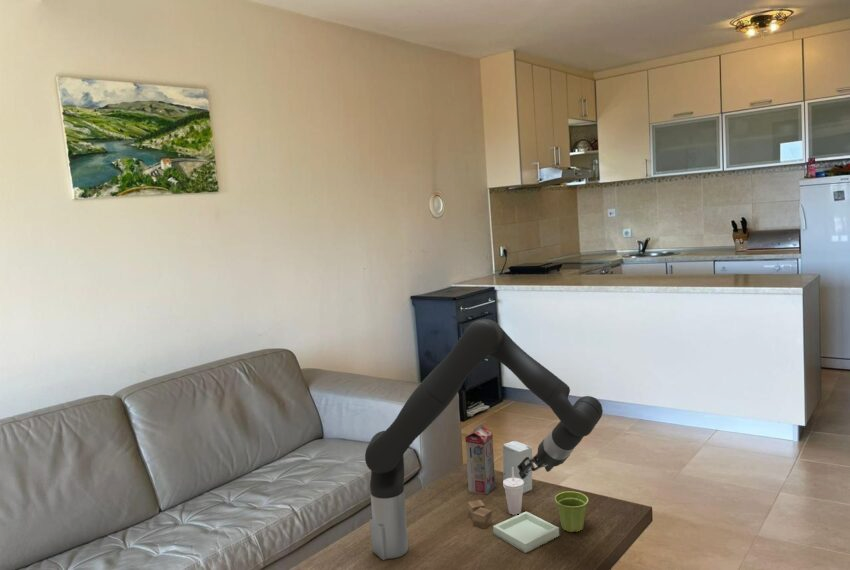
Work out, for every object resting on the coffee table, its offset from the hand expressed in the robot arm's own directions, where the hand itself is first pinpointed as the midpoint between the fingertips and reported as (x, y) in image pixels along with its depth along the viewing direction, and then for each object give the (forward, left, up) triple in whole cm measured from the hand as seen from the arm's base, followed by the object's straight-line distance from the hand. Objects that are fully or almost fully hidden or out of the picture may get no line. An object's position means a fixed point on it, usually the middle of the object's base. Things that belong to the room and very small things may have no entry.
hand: (533, 472), depth 180 cm
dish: (-5, -1, -17) cm, 18 cm away
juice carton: (+5, +30, -17) cm, 35 cm away
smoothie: (+2, +11, -17) cm, 21 cm away
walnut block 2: (-10, +12, -17) cm, 23 cm away
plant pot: (+8, -7, -17) cm, 20 cm away
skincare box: (+14, +22, -17) cm, 31 cm away
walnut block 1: (-8, +17, -17) cm, 25 cm away
